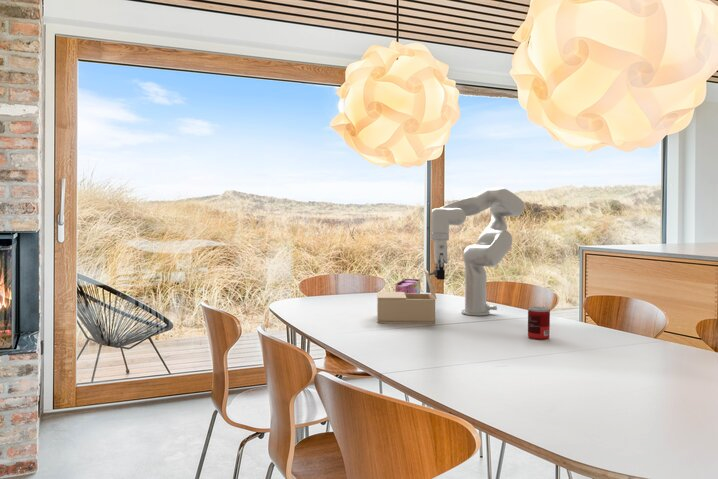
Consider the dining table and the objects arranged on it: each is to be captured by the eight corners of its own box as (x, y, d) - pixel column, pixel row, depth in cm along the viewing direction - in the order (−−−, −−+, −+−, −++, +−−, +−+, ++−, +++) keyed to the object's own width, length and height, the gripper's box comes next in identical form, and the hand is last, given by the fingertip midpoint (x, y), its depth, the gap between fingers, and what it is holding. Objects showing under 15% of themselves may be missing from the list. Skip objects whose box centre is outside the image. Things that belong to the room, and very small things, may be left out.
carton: (430, 315, 255) (431, 292, 254) (435, 323, 237) (435, 297, 236) (377, 315, 255) (377, 291, 255) (377, 323, 237) (377, 297, 237)
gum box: (410, 314, 258) (410, 284, 258) (393, 313, 260) (393, 284, 260) (420, 306, 281) (420, 279, 280) (404, 305, 283) (405, 278, 283)
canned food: (548, 336, 212) (549, 307, 211) (550, 340, 204) (550, 310, 203) (527, 335, 214) (527, 306, 213) (527, 339, 206) (528, 309, 206)
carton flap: (431, 293, 254) (444, 289, 254) (435, 299, 237) (449, 294, 236) (423, 268, 253) (436, 264, 253) (427, 272, 236) (441, 268, 236)
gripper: (451, 237, 235) (451, 280, 236) (446, 236, 253) (446, 276, 253) (433, 237, 236) (433, 280, 236) (429, 236, 253) (429, 276, 254)
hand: (439, 278), depth 245 cm, fingers open, 6 cm apart
